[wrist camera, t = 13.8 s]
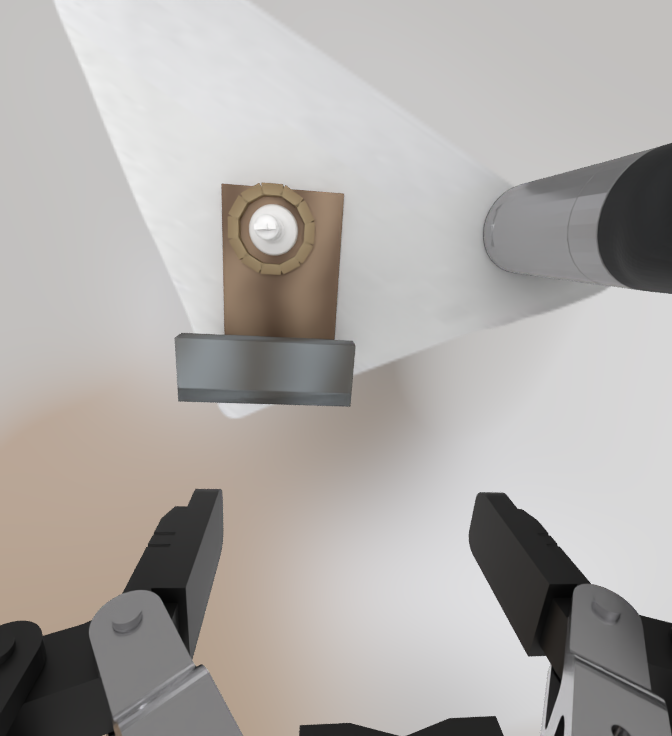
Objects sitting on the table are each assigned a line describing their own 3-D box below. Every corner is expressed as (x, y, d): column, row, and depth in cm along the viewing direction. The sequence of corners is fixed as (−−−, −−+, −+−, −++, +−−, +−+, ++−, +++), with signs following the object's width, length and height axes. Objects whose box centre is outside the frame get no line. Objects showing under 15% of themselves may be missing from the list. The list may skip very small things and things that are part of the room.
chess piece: (246, 205, 39) (227, 192, 29) (296, 203, 39) (293, 190, 29) (251, 256, 40) (235, 260, 31) (299, 254, 40) (298, 258, 31)
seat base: (343, 192, 40) (371, 156, 23) (333, 345, 45) (350, 406, 28) (223, 183, 39) (162, 137, 22) (226, 341, 44) (178, 401, 27)
